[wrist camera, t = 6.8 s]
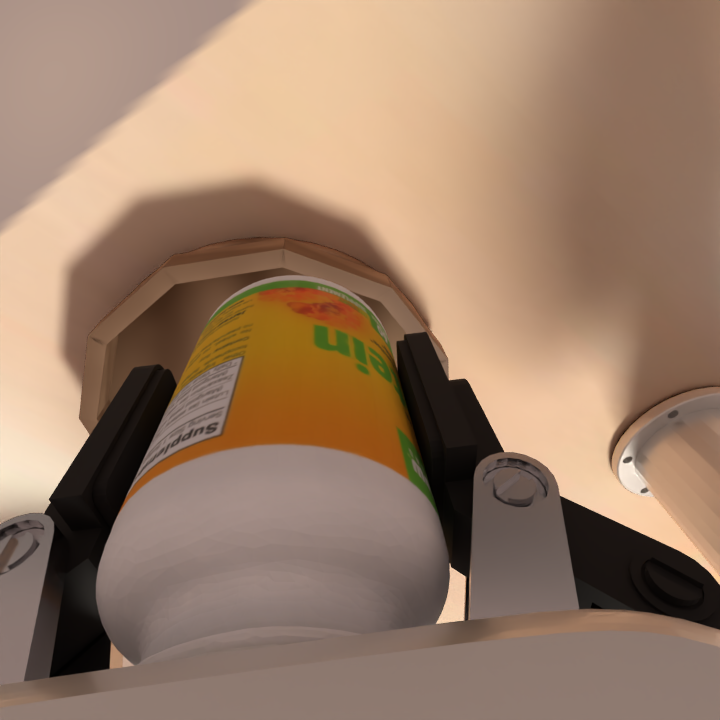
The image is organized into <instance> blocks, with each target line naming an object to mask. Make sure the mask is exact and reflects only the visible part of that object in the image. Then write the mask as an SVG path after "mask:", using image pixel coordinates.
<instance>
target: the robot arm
mask: <svg viewBox="0 0 720 720" xmlns="http://www.w3.org/2000/svg"><path fill="white" fill-rule="evenodd" d="M396 349H397V369H398V374H399V378H400V382H401V386H402V389H403V393H404V396H405V400H406V404H407V407H408V411H409V414H410V418H411V421H412V425H413V429H414V432H415V435H416V439H417V442H418V446H419V449H420V453H421V456H422V460H423V463H424V467H425V470H426V474H427V477H428V481H429V484H430V488H431V491H432V494H433V498H434V501H435V505H436V507H437V511H438V514H439V518H440V522H441V526H442V530H443V534H444V538H445V541H446V546H447V550H448V555H449V563H450V564H451V567H452V568H454V569H455V570H457V571H458V572H460V573H461V574H463V575H464V576H466V577H465V602H464V621H458V622H449V623H441V624H434V625H426V626H419V627H412V628H404V629H397V630H389V631H382V632H374V633H367V634H359V635H352V636H344V637H337V638H330V639H322V640H315V641H307V642H300V643H293V644H286V645H278V646H271V647H264V648H257V649H249V650H242V651H235V652H228V653H221V654H213V655H206V656H199V657H192V658H185V659H178V660H171V661H164V662H156V663H149V664H142V665H135V666H128V667H122V665H123V655H122V654H121V653H120V652H119V651H118V650H117V649H116V647H115V646H114V645H113V643H112V642H111V640H110V639H109V637H108V635H107V633H106V631H105V629H104V627H103V625H102V622H101V619H100V615H99V611H98V607H97V602H96V580H97V573H98V568H99V563H100V560H101V557H102V554H103V551H104V548H105V545H106V542H107V540H108V538H109V535H110V533H111V530H112V527H113V524H114V522H115V520H116V518H117V516H118V514H119V511H120V509H121V507H122V505H123V503H124V501H125V498H126V496H127V494H128V491H129V489H130V487H131V485H132V483H133V481H134V479H135V477H136V475H137V473H138V471H139V468H140V466H141V464H142V462H143V460H144V457H145V455H146V453H147V451H148V449H149V446H150V444H151V442H152V440H153V438H154V436H155V433H156V431H157V429H158V427H159V425H160V423H161V420H162V418H163V416H164V413H165V411H166V409H167V407H168V405H169V403H170V401H171V398H172V396H173V394H174V392H175V389H176V387H177V384H176V381H175V379H174V376H173V374H172V372H171V371H170V370H169V369H164V368H163V367H162V366H161V365H160V364H155V365H147V366H139V367H134V368H133V369H132V370H131V372H130V374H129V375H128V377H127V378H126V380H125V381H124V383H123V384H122V386H121V388H120V389H119V391H118V392H117V394H116V395H115V397H114V399H113V400H112V402H111V403H110V405H109V406H108V408H107V409H106V411H105V413H104V414H103V416H102V417H101V419H100V420H99V422H98V423H97V425H96V427H95V428H94V430H93V431H92V433H91V434H90V436H89V437H88V439H87V441H86V442H85V444H84V445H83V447H82V448H81V450H80V452H79V453H78V455H77V456H76V458H75V459H74V461H73V462H72V464H71V466H70V467H69V469H68V470H67V472H66V473H65V475H64V476H63V478H62V480H61V481H60V483H59V484H58V486H57V487H56V489H55V491H54V492H53V494H52V495H51V497H50V498H49V500H50V502H51V503H50V505H49V506H48V508H47V510H46V511H45V513H44V514H42V513H29V514H25V515H21V516H17V517H15V518H13V519H10V520H8V521H6V522H3V523H2V524H0V720H720V585H719V584H718V582H717V581H716V580H715V579H714V577H713V576H712V575H711V574H710V573H709V572H708V571H707V570H706V569H705V568H704V567H702V566H701V565H700V564H699V563H698V562H696V561H695V560H694V559H692V558H690V557H689V556H687V555H685V554H683V553H682V552H680V551H678V550H676V549H674V548H671V547H669V546H667V545H665V544H663V543H661V542H659V541H656V540H654V539H652V538H650V537H648V536H646V535H643V534H641V533H639V532H637V531H635V530H633V529H630V528H628V527H626V526H624V525H622V524H620V523H618V522H615V521H613V520H611V519H609V518H607V517H605V516H602V515H600V514H598V513H596V512H594V511H592V510H589V509H587V508H585V507H583V506H581V505H579V504H577V503H574V502H572V501H570V500H568V499H566V498H564V497H561V496H560V495H559V489H558V485H557V482H556V480H555V477H554V475H553V474H552V473H551V472H550V471H549V469H548V468H547V467H546V466H544V465H543V464H542V463H540V462H539V461H537V460H536V459H533V458H531V457H529V456H526V455H523V454H518V453H514V452H504V450H503V448H502V447H501V445H500V443H499V441H498V439H497V437H496V435H495V433H494V431H493V429H492V427H491V425H490V423H489V421H488V419H487V417H486V415H485V413H484V411H483V410H482V408H481V406H480V404H479V402H478V400H477V398H476V396H475V394H474V392H473V390H472V388H471V386H470V384H469V383H468V381H467V380H466V379H457V380H448V378H447V375H446V373H445V371H444V369H443V366H442V364H441V362H440V360H439V358H438V355H437V353H436V351H435V349H434V346H433V344H432V342H431V340H430V338H429V335H428V333H427V332H419V333H411V334H404V340H401V341H397V342H396ZM612 469H613V473H614V475H615V476H616V478H617V479H618V481H619V482H620V483H621V484H622V485H623V487H624V488H625V489H627V490H628V491H630V492H632V493H634V494H637V495H641V496H650V497H655V498H656V500H657V501H658V502H659V503H660V504H661V506H662V507H663V508H664V509H665V510H666V512H667V513H668V514H669V515H670V516H671V518H672V519H673V520H674V521H675V523H676V524H677V525H678V526H679V527H680V529H681V530H682V531H683V532H684V533H685V535H686V536H687V537H688V538H689V539H690V541H691V542H692V543H693V544H694V546H695V547H696V548H697V549H698V550H699V552H700V553H701V554H702V555H703V556H704V558H705V559H706V560H707V561H708V562H709V564H710V565H711V566H712V567H713V568H714V570H715V571H716V572H717V573H718V575H719V576H720V387H708V388H702V389H695V390H692V391H688V392H685V393H682V394H679V395H677V396H674V397H672V398H670V399H667V400H665V401H664V402H662V403H660V404H658V405H657V406H655V407H653V408H652V409H650V410H649V411H647V412H646V413H645V414H643V415H642V416H641V417H639V418H638V419H637V420H636V421H635V422H634V423H633V424H632V425H631V426H630V427H629V428H628V429H627V430H626V432H625V433H624V434H623V435H622V437H621V438H620V440H619V442H618V443H617V445H616V447H615V450H614V453H613V456H612Z"/></svg>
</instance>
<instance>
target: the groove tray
mask: <svg viewBox="0 0 720 720" xmlns="http://www.w3.org/2000/svg"><path fill="white" fill-rule="evenodd" d="M286 275H300V276H310V277H315V278H320V279H323V280H327V281H330V282H333V283H335V284H337V285H340V286H342V287H344V288H346V289H347V290H349V291H350V292H352V293H354V294H355V295H356V296H358V297H359V298H361V299H362V300H363V301H364V302H365V303H366V304H367V305H368V306H369V307H370V308H371V309H372V311H373V312H374V313H375V314H376V316H377V317H378V318H379V320H380V322H381V323H382V325H383V327H384V329H385V331H386V334H387V337H388V339H389V342H390V345H391V349H392V352H393V356H394V360H395V363H396V367H397V349H396V342H397V341H401V340H404V334H411V333H419V332H427V333H428V335H429V338H430V340H431V342H432V344H433V346H434V349H435V351H436V353H437V355H438V358H439V360H440V362H441V364H442V366H443V369H444V371H445V373H446V375H447V378H448V358H447V356H446V354H445V352H444V350H443V348H442V346H441V344H440V342H439V341H438V340H437V339H436V337H435V336H434V335H433V334H432V332H431V331H430V330H429V328H428V327H427V326H426V325H425V323H424V322H423V320H422V318H421V317H420V315H419V314H418V312H417V311H416V309H415V308H414V306H413V305H412V303H411V302H410V301H409V300H408V299H407V298H406V297H405V296H404V294H403V293H402V292H401V291H400V290H399V289H398V288H397V287H396V286H395V285H394V284H393V282H392V281H391V280H390V278H389V277H388V276H387V275H385V274H383V273H380V272H377V271H376V270H374V269H373V268H371V267H369V266H368V265H366V264H365V263H363V262H361V261H360V260H357V259H355V258H353V257H351V256H349V255H346V254H344V253H342V252H340V251H338V250H335V249H331V248H328V247H325V246H321V245H318V244H315V243H311V242H305V241H299V240H293V239H288V238H266V237H256V238H245V239H234V240H229V241H224V242H220V243H215V244H211V245H207V246H204V247H201V248H199V249H196V250H193V251H191V252H188V253H182V254H175V255H173V256H172V257H171V258H169V259H168V260H167V261H166V262H165V263H164V264H163V265H162V266H161V267H159V268H158V269H157V270H156V271H155V272H153V273H152V274H151V275H150V276H148V277H147V278H146V279H144V280H143V281H142V282H141V283H140V284H139V285H138V287H137V288H136V289H135V290H134V291H133V292H132V293H131V294H130V295H129V296H128V297H126V298H125V299H124V300H123V301H122V302H121V303H120V304H119V305H118V306H116V307H115V308H114V309H113V310H112V311H111V312H110V313H109V314H108V315H107V316H105V317H104V318H103V319H102V320H101V321H100V323H99V324H98V325H97V326H96V327H95V328H94V329H93V330H92V332H91V333H90V334H89V335H88V338H87V347H86V357H85V366H84V376H83V386H82V395H81V405H80V414H79V419H80V420H81V422H82V423H83V425H84V427H85V428H86V430H87V431H88V433H89V434H91V433H92V431H93V430H94V428H95V427H96V425H97V423H98V422H99V420H100V419H101V417H102V416H103V414H104V413H105V411H106V409H107V408H108V406H109V405H110V403H111V402H112V400H113V399H114V397H115V395H116V394H117V392H118V391H119V389H120V388H121V386H122V384H123V383H124V381H125V380H126V378H127V377H128V375H129V374H130V372H131V370H132V369H133V368H134V367H139V366H147V365H155V364H160V365H161V366H162V367H163V368H164V369H169V370H170V371H171V372H172V374H173V376H174V379H175V381H176V384H177V385H178V383H179V381H180V379H181V377H182V374H183V372H184V370H185V368H186V366H187V364H188V361H189V359H190V357H191V355H192V353H193V351H194V349H195V346H196V344H197V342H198V340H199V338H200V336H201V334H202V332H203V330H204V328H205V326H206V325H207V323H208V321H209V319H210V318H211V316H212V315H213V313H214V312H215V311H216V310H217V308H218V307H219V306H220V305H221V304H222V303H223V302H224V301H225V300H226V299H228V298H229V297H230V296H232V295H233V294H235V293H236V292H238V291H239V290H241V289H243V288H244V287H246V286H248V285H251V284H253V283H255V282H258V281H261V280H264V279H268V278H272V277H277V276H286ZM397 371H398V369H397ZM448 380H449V378H448Z"/></svg>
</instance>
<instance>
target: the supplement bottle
mask: <svg viewBox="0 0 720 720" xmlns="http://www.w3.org/2000/svg"><path fill="white" fill-rule="evenodd" d="M449 579H450V571H449V555H448V550H447V546H446V541H445V538H444V534H443V530H442V526H441V522H440V518H439V514H438V511H437V507H436V505H435V501H434V498H433V494H432V491H431V488H430V484H429V481H428V477H427V474H426V470H425V467H424V463H423V460H422V456H421V453H420V449H419V446H418V442H417V439H416V435H415V432H414V429H413V425H412V421H411V418H410V414H409V411H408V407H407V404H406V400H405V396H404V393H403V389H402V386H401V382H400V378H399V374H398V371H397V367H396V363H395V360H394V356H393V352H392V349H391V345H390V342H389V339H388V337H387V334H386V331H385V329H384V327H383V325H382V323H381V322H380V320H379V318H378V317H377V316H376V314H375V313H374V312H373V311H372V309H371V308H370V307H369V306H368V305H367V304H366V303H365V302H364V301H363V300H362V299H361V298H359V297H358V296H356V295H355V294H354V293H352V292H350V291H349V290H347V289H346V288H344V287H342V286H340V285H337V284H335V283H333V282H330V281H327V280H323V279H320V278H315V277H310V276H300V275H286V276H277V277H272V278H268V279H264V280H261V281H258V282H255V283H253V284H251V285H248V286H246V287H244V288H243V289H241V290H239V291H238V292H236V293H235V294H233V295H232V296H230V297H229V298H228V299H226V300H225V301H224V302H223V303H222V304H221V305H220V306H219V307H218V308H217V310H216V311H215V312H214V313H213V315H212V316H211V318H210V319H209V321H208V323H207V325H206V326H205V328H204V330H203V332H202V334H201V336H200V338H199V340H198V342H197V344H196V346H195V349H194V351H193V353H192V355H191V357H190V359H189V361H188V364H187V366H186V368H185V370H184V372H183V374H182V377H181V379H180V381H179V383H178V385H177V387H176V389H175V392H174V394H173V396H172V398H171V401H170V403H169V405H168V407H167V409H166V411H165V413H164V416H163V418H162V420H161V423H160V425H159V427H158V429H157V431H156V433H155V436H154V438H153V440H152V442H151V444H150V446H149V449H148V451H147V453H146V455H145V457H144V460H143V462H142V464H141V466H140V468H139V471H138V473H137V475H136V477H135V479H134V481H133V483H132V485H131V487H130V489H129V491H128V494H127V496H126V498H125V501H124V503H123V505H122V507H121V509H120V511H119V514H118V516H117V518H116V520H115V522H114V524H113V527H112V530H111V533H110V535H109V538H108V540H107V542H106V545H105V548H104V551H103V554H102V557H101V560H100V563H99V568H98V573H97V580H96V602H97V607H98V611H99V615H100V619H101V622H102V625H103V627H104V629H105V631H106V633H107V635H108V637H109V639H110V640H111V642H112V643H113V645H114V646H115V647H116V649H117V650H118V651H119V652H120V653H121V654H122V655H123V656H124V657H125V658H126V659H127V660H128V661H129V662H130V663H132V664H133V665H134V666H135V665H142V664H149V663H156V662H164V661H171V660H178V659H185V658H192V657H199V656H206V655H213V654H221V653H228V652H235V651H242V650H249V649H257V648H264V647H271V646H278V645H286V644H293V643H300V642H307V641H315V640H322V639H330V638H337V637H344V636H352V635H359V634H367V633H374V632H382V631H389V630H397V629H404V628H412V627H419V626H426V625H434V624H436V622H437V620H438V618H439V616H440V614H441V612H442V610H443V607H444V604H445V601H446V598H447V594H448V588H449Z"/></svg>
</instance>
